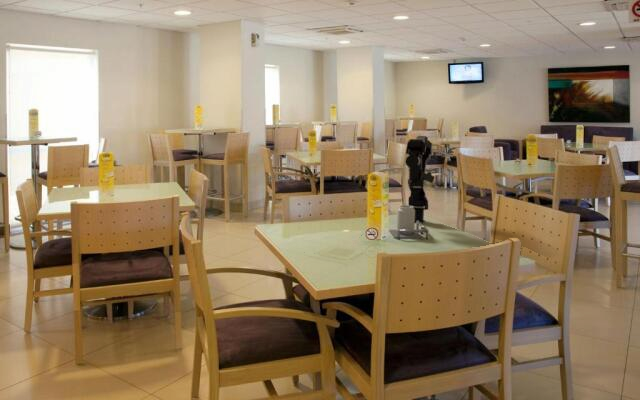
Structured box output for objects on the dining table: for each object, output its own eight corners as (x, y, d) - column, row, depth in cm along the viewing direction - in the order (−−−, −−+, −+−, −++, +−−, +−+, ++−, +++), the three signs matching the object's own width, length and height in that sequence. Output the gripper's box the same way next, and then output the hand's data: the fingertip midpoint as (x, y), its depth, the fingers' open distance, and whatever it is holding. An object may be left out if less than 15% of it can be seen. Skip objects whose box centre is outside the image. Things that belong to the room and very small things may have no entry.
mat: (389, 230, 249) (389, 229, 249) (415, 230, 249) (415, 229, 249) (394, 238, 235) (394, 237, 235) (422, 238, 236) (422, 237, 236)
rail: (389, 228, 253) (390, 219, 252) (418, 228, 254) (418, 219, 253) (397, 239, 233) (397, 230, 233) (428, 239, 234) (428, 230, 233)
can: (413, 231, 246) (414, 204, 244) (414, 235, 238) (415, 208, 236) (396, 230, 247) (397, 204, 244) (397, 234, 239) (398, 207, 237)
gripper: (435, 167, 241) (435, 203, 243) (431, 165, 259) (431, 199, 261) (409, 168, 242) (409, 203, 244) (407, 166, 261) (407, 199, 262)
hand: (415, 201), depth 253 cm, fingers open, 9 cm apart
